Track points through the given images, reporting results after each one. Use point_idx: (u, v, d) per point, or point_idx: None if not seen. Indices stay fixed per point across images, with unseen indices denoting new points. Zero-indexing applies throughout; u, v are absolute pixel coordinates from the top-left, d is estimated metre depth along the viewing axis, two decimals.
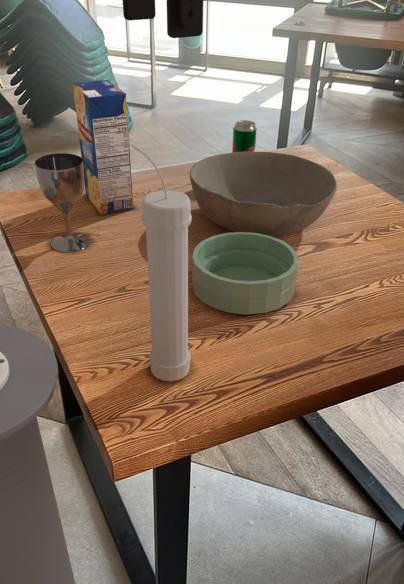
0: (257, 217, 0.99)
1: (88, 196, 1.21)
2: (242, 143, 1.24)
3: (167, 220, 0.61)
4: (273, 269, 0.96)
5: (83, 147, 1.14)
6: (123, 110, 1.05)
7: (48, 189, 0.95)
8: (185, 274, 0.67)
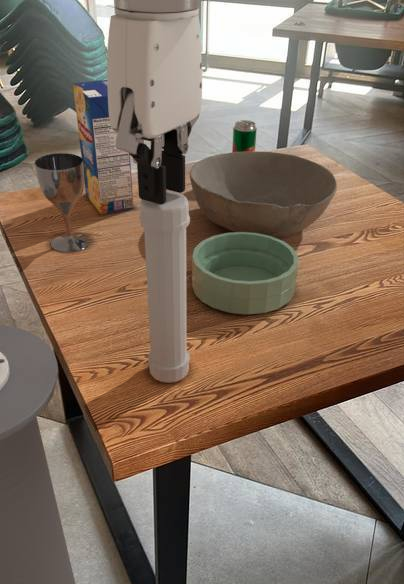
0: (257, 217, 0.99)
1: (88, 196, 1.21)
2: (242, 143, 1.24)
3: (165, 221, 0.61)
4: (273, 269, 0.96)
5: (83, 147, 1.14)
6: None
7: (48, 189, 0.95)
8: (183, 275, 0.67)
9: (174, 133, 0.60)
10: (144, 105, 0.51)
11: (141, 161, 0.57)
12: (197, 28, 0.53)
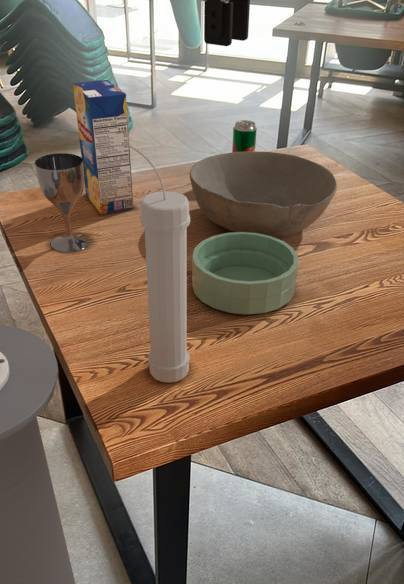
0: (257, 217, 0.99)
1: (88, 196, 1.21)
2: (242, 143, 1.24)
3: (165, 221, 0.61)
4: (273, 269, 0.96)
5: (83, 147, 1.14)
6: (123, 110, 1.05)
7: (48, 189, 0.95)
8: (184, 275, 0.67)
9: None
10: None
11: None
12: None
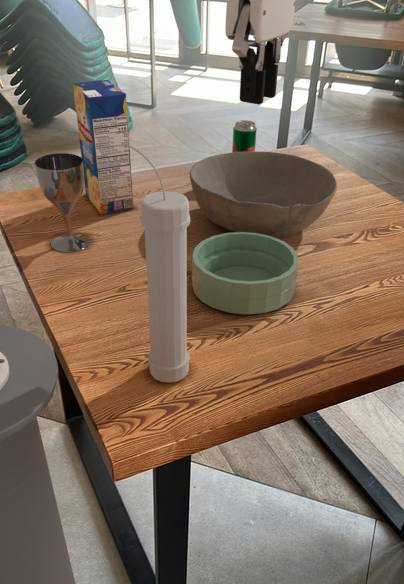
0: (257, 217, 0.99)
1: (88, 196, 1.21)
2: (242, 143, 1.24)
3: (165, 221, 0.61)
4: (273, 269, 0.96)
5: (83, 147, 1.14)
6: (123, 110, 1.05)
7: (48, 189, 0.95)
8: (184, 275, 0.67)
9: (269, 47, 0.74)
10: (258, 13, 0.65)
11: (247, 65, 0.70)
12: None
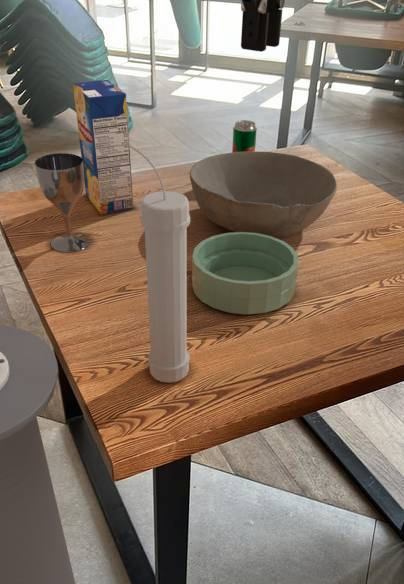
0: (257, 217, 0.99)
1: (88, 196, 1.21)
2: (242, 143, 1.24)
3: (165, 221, 0.61)
4: (273, 269, 0.96)
5: (83, 147, 1.14)
6: (123, 110, 1.05)
7: (48, 189, 0.95)
8: (184, 275, 0.67)
9: None
10: None
11: (250, 6, 0.66)
12: None
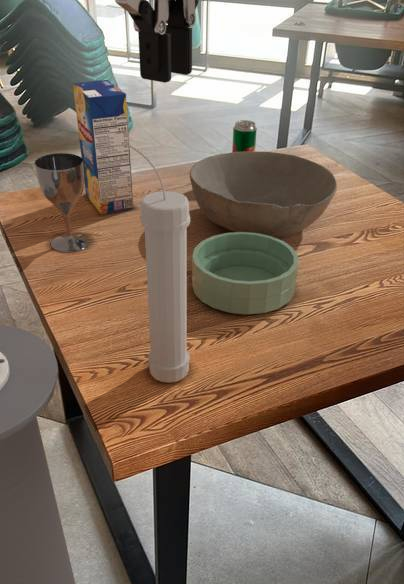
0: (257, 217, 0.99)
1: (88, 196, 1.21)
2: (242, 143, 1.24)
3: (165, 221, 0.61)
4: (273, 269, 0.96)
5: (83, 147, 1.14)
6: (123, 110, 1.05)
7: (48, 189, 0.95)
8: (184, 275, 0.67)
9: (179, 3, 0.54)
10: None
11: (143, 25, 0.50)
12: None
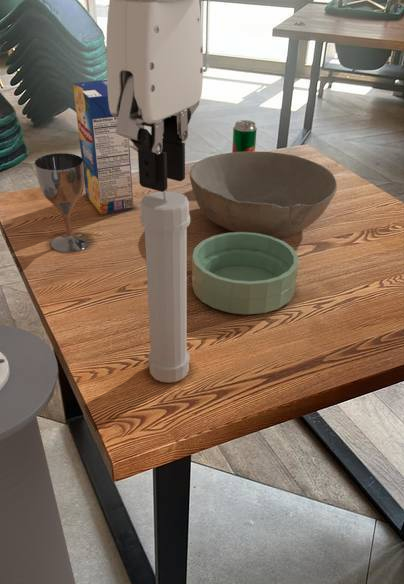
0: (257, 217, 0.99)
1: (88, 196, 1.21)
2: (242, 143, 1.24)
3: (165, 221, 0.61)
4: (273, 269, 0.96)
5: (83, 147, 1.14)
6: None
7: (48, 189, 0.95)
8: (184, 275, 0.67)
9: (173, 120, 0.59)
10: (144, 89, 0.50)
11: (142, 147, 0.56)
12: (198, 11, 0.53)
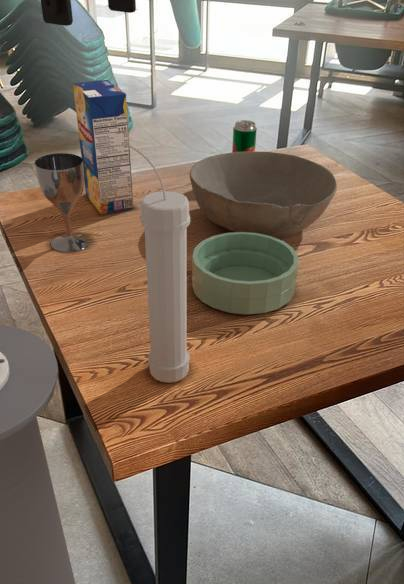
0: (257, 217, 0.99)
1: (88, 196, 1.21)
2: (242, 143, 1.24)
3: (165, 221, 0.61)
4: (273, 269, 0.96)
5: (83, 147, 1.14)
6: (123, 110, 1.05)
7: (48, 189, 0.95)
8: (184, 275, 0.67)
9: None
10: None
11: None
12: None
